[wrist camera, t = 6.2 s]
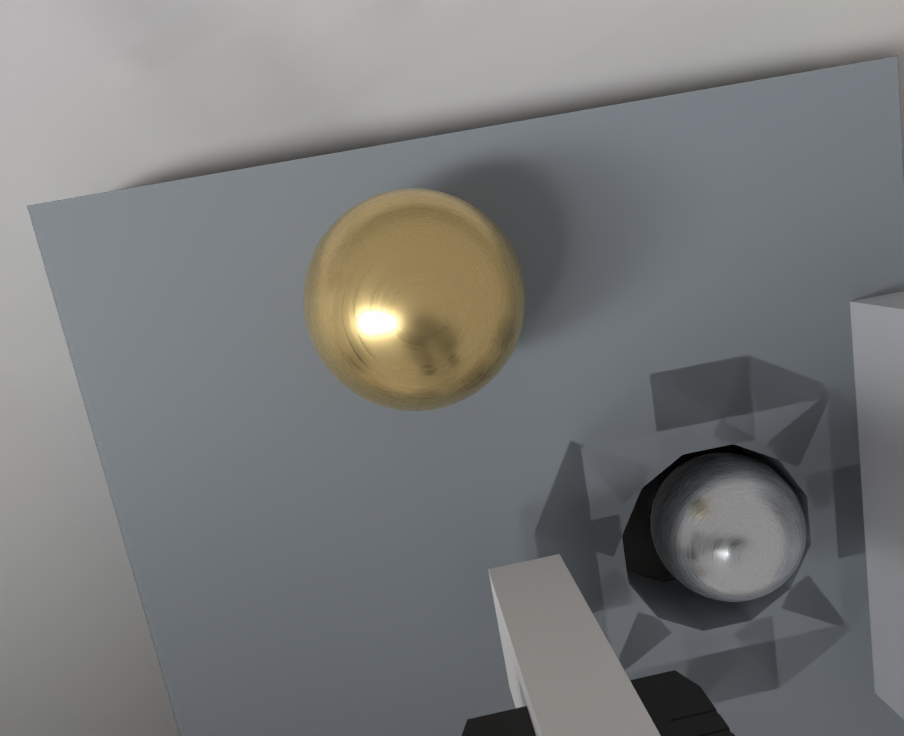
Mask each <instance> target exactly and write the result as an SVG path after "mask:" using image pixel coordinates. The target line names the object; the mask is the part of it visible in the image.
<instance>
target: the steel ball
mask: <svg viewBox="0 0 904 736" xmlns="http://www.w3.org/2000/svg"><path fill="white" fill-rule="evenodd" d="M650 527H651V535H652V540H653V543H654V546H655V549H656V552H657V553H658V555H659V557H660V559H661V561H662V562H663V564H664V565H665V567H666V568H667V570H668V571H669V572H670V573H671V574H672V575H673V576H674V577H675V578H676V579H677V580H678V581H679V582H680V583H682V584H683V585H684V586H686V587H687V588H689V589H690V590H692V591H694V592H696V593H698V594H700V595H702V596H704V597H708V598H711V599H715V600H720V601H726V602H743V601H749V600H753V599H757V598H760V597H762V596H765V595H767V594H769V593H771V592H773V591H774V590H776V589H777V588H779V587H780V586H781V585H783V584H784V583H785V582H786V581H787V580H788V579H789V578H790V577H791V575H792V574H793V573H794V571H795V570H796V568H797V567H798V565H799V563H800V560H801V558H802V555H803V552H804V548H805V543H806V524H805V517H804V513H803V510H802V507H801V505H800V502H799V500H798V498H797V496H796V494H795V493H794V491H793V490H792V488H791V487H790V486H789V484H788V483H787V482H786V481H785V480H784V479H783V478H782V477H781V476H780V475H779V474H778V473H777V472H775V471H774V470H773V469H772V468H770V467H768V466H767V465H765V464H764V463H762V462H760V461H758V460H755V459H753V458H750V457H747V456H744V455H740V454H734V453H710V454H705V455H701V456H698V457H695V458H692V459H690V460H688V461H686V462H684V463H683V464H681V465H680V466H678V467H677V468H676V469H674V470H673V471H672V472H671V473H670V474H669V475H668V476H667V477H666V478H665V480H664V481H663V482H662V484H661V485H660V487H659V489H658V491H657V493H656V495H655V498H654V501H653V504H652V508H651V516H650Z"/></svg>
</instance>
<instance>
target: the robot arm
mask: <svg viewBox="0 0 904 736" xmlns="http://www.w3.org/2000/svg"><path fill="white" fill-rule="evenodd" d="M488 572H489V577H490V583H491V588H492V594H493V599H494V605H495V610H496V616H497V621H498V627H499V632H500V638H501V643H502V649H503V654H504V660H505V665H506V671H507V677H508V682H509V687H510V691H511V694H512V698H513V701H514V705H515V709H511V710H506V711H502V712H498V713H493V714H489V715H484V716H480V717H475V718H471V719H467V722H466V725H465V727H464V730H463V733H462V736H735V735H734V734H733V733H731V731H730V728H729V727H728V725H727V724H726V722H725V721H724V719H723V718H722V717H721V715H720V714H718V713H717V710H716V708H715V707H714V705H713V704H712V702H711V701H710V700H709V698H708V697H707V695H706V694H705V692H704V691H703V690H702V688H701V687H700V686H699V685H697V684H696V683H694V682H692V681H691V680H689V679H688V678H686V677H685V676H683V675H682V674H680V673H679V672H677V671H675V670H673V671H669V672H664V673H660V674H655V675H651V676H646V677H642V678H638V679H633V680H629V678H628V676H627V674H626V672H625V671H624V669H623V667H622V665H621V664H620V662H619V660H618V658H617V656H616V655H615V653H614V651H613V649H612V647H611V646H610V644H609V642H608V640H607V638H606V637H605V635H604V633H603V631H602V629H601V628H600V626H599V624H598V622H597V620H596V619H595V617H594V615H593V613H592V612H591V610H590V608H589V606H588V604H587V603H586V601H585V599H584V597H583V595H582V594H581V592H580V590H579V588H578V586H577V585H576V583H575V581H574V579H573V577H572V576H571V574H570V572H569V570H568V568H567V567H566V565H565V563H564V561H563V560H562V558H561V556H560V554H557V555H552V556H548V557H543V558H538V559H534V560H529V561H524V562H520V563H515V564H510V565H506V566H501V567H496V568H491V569H488Z"/></svg>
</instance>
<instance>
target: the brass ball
mask: <svg viewBox="0 0 904 736" xmlns="http://www.w3.org/2000/svg"><path fill="white" fill-rule="evenodd" d="M525 300H526V297H525V286H524V279H523V275H522V270H521V267H520V264H519V261H518V258H517V256H516V253H515V252H514V250H513V248H512V246H511V244H510V242H509V240H508V239H507V238H506V236H505V235H504V233H503V232H502V230H501V229H500V228H499V227H498V226H497V225H496V224H495V223H494V222H493V221H492V219H490V218H489V217H488V216H487V215H486V214H485V213H483V212H482V211H481V210H480V209H478V208H477V207H475V206H473V205H472V204H470V203H469V202H467V201H465V200H463V199H460V198H458V197H456V196H454V195H451V194H447V193H444V192H441V191H436V190H430V189H421V188H406V189H397V190H391V191H387V192H383V193H380V194H377V195H375V196H372V197H369V198H367V199H365V200H363V201H361V202H360V203H358V204H356V205H354V206H353V207H351V208H350V209H349V210H347V211H346V212H345V213H343V214H342V215H341V216H340V217H339V218H338V219H337V220H336V221H335V222H334V223H333V224H332V225H331V226H330V227H329V229H328V230H327V231H326V233H325V234H324V235H323V236H322V238H321V240H320V241H319V243H318V245H317V247H316V248H315V250H314V253H313V255H312V258H311V260H310V263H309V265H308V269H307V273H306V277H305V283H304V291H303V309H304V316H305V322H306V326H307V330H308V333H309V337H310V339H311V341H312V344H313V346H314V348H315V351H316V352H317V354H318V356H319V357H320V359H321V360H322V362H323V364H324V365H325V366H326V367H327V369H328V370H329V371H330V372H331V374H332V375H333V376H334V377H335V378H336V379H337V380H338V381H339V382H341V383H342V384H343V385H344V386H345V387H347V388H348V389H349V390H351V391H352V392H353V393H355V394H356V395H358V396H360V397H362V398H364V399H365V400H367V401H370V402H372V403H375V404H377V405H380V406H383V407H387V408H391V409H395V410H403V411H427V410H435V409H439V408H443V407H447V406H450V405H453V404H455V403H458V402H460V401H463V400H465V399H466V398H468V397H470V396H472V395H474V394H475V393H477V392H478V391H479V390H481V389H482V388H483V387H485V386H486V385H487V384H488V383H489V382H490V381H491V380H492V379H493V378H494V377H496V376H497V374H498V373H499V372H500V371H501V369H502V368H503V367H504V366H505V364H506V363H507V361H508V359H509V358H510V356H511V355H512V353H513V351H514V349H515V346H516V344H517V342H518V340H519V337H520V333H521V330H522V327H523V321H524V315H525Z"/></svg>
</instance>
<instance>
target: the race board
mask: <svg viewBox="0 0 904 736" xmlns="http://www.w3.org/2000/svg"><path fill="white" fill-rule="evenodd" d="M406 188H421V189H430V190H436V191H441V192H444V193H447V194H451V195H454V196H456V197H458V198H460V199H463V200H465V201H467V202H469V203H470V204H472V205H473V206H475V207H477V208H478V209H480V210H481V211H482V212H483V213H485V214H486V215H487V216H488V217H489V218H490V219H492V221H493V222H494V223H495V224H496V225H497V226H498V227H499V228H500V229H501V230H502V232H503V233H504V235H505V236H506V238H507V239H508V240H509V242H510V244H511V246H512V248H513V250H514V252H515V253H516V256H517V258H518V261H519V264H520V267H521V270H522V275H523V279H524V286H525V297H526V300H525V315H524V321H523V327H522V330H521V333H520V337H519V340H518V342H517V344H516V346H515V349H514V351H513V353H512V355H511V356H510V358H509V359H508V361H507V363H506V364H505V366H504V367H503V368H502V369H501V371H500V372H499V373H498V374H497V376H496V377H494V378H493V379H492V380H491V381H490V382H489V383H488V384H487V385H486V386H485V387H483V388H482V389H481V390H479V391H478V392H477V393H475V394H474V395H472V396H470V397H468V398H466V399H465V400H463V401H460V402H458V403H455V404H453V405H450V406H447V407H443V408H439V409H435V410H427V411H403V410H395V409H391V408H387V407H383V406H380V405H377V404H375V403H372V402H370V401H367V400H365V399H364V398H362V397H360V396H358V395H356V394H355V393H353V392H352V391H351V390H349V389H348V388H347V387H345V386H344V385H343V384H342V383H341V382H339V381H338V380H337V379H336V378H335V377H334V376H333V375H332V374H331V372H330V371H329V370H328V369H327V367H326V366H325V365H324V364H323V362H322V360H321V359H320V357H319V356H318V354H317V352H316V351H315V348H314V346H313V344H312V341H311V339H310V337H309V333H308V330H307V326H306V322H305V316H304V309H303V291H304V283H305V277H306V273H307V269H308V265H309V263H310V260H311V258H312V255H313V253H314V250H315V248H316V247H317V245H318V243H319V241H320V240H321V238H322V236H323V235H324V234H325V233H326V231H327V230H328V229H329V227H330V226H331V225H332V224H333V223H334V222H335V221H336V220H337V219H338V218H339V217H340V216H341V215H342V214H343V213H345V212H346V211H347V210H349V209H350V208H351V207H353V206H354V205H356V204H358V203H360V202H361V201H363V200H365V199H367V198H369V197H372V196H375V195H377V194H380V193H383V192H387V191H391V190H397V189H406ZM27 207H28V211H29V214H30V218H31V221H32V225H33V228H34V232H35V235H36V238H37V242H38V245H39V249H40V252H41V256H42V259H43V263H44V266H45V270H46V273H47V276H48V280H49V283H50V287H51V290H52V294H53V297H54V301H55V304H56V308H57V311H58V314H59V318H60V321H61V325H62V328H63V332H64V335H65V339H66V342H67V346H68V349H69V353H70V356H71V359H72V363H73V366H74V370H75V373H76V377H77V380H78V384H79V387H80V391H81V394H82V397H83V401H84V404H85V408H86V411H87V415H88V418H89V422H90V425H91V429H92V432H93V435H94V439H95V442H96V446H97V449H98V453H99V456H100V460H101V463H102V467H103V470H104V473H105V477H106V480H107V484H108V487H109V491H110V494H111V498H112V501H113V505H114V508H115V511H116V515H117V518H118V522H119V525H120V529H121V532H122V536H123V539H124V543H125V546H126V550H127V553H128V556H129V560H130V563H131V567H132V570H133V574H134V577H135V581H136V584H137V588H138V591H139V594H140V598H141V601H142V605H143V608H144V612H145V615H146V619H147V622H148V626H149V629H150V632H151V636H152V639H153V643H154V646H155V650H156V653H157V657H158V660H159V664H160V667H161V670H162V674H163V677H164V681H165V684H166V688H167V691H168V695H169V698H170V702H171V705H172V708H173V712H174V715H175V719H176V722H177V726H178V729H179V733H180V736H462V733H463V730H464V727H465V725H466V722H467V719H471V718H475V717H480V716H484V715H489V714H493V713H498V712H502V711H506V710H511V709H515V705H514V701H513V698H512V694H511V691H510V687H509V682H508V677H507V671H506V665H505V660H504V654H503V649H502V643H501V638H500V632H499V627H498V621H497V616H496V610H495V605H494V599H493V594H492V588H491V583H490V577H489V572H488V569H491V568H496V567H501V566H506V565H510V564H515V563H520V562H524V561H529V560H534V559H538V558H543V557H548V556H552V555H557V554H560V556H561V558H562V560H563V561H564V563H565V565H566V567H567V568H568V570H569V572H570V574H571V576H572V577H573V579H574V581H575V583H576V585H577V586H578V588H579V590H580V592H581V594H582V595H583V597H584V599H585V601H586V603H587V604H588V606H589V608H590V610H591V612H592V613H593V615H594V617H595V619H596V620H597V622H598V624H599V626H600V628H601V629H602V631H603V633H604V635H605V637H606V638H607V640H608V642H609V644H610V646H611V647H612V649H613V651H614V653H615V655H616V656H617V658H618V660H619V662H620V664H621V665H622V667H623V669H624V671H625V672H626V674H627V676H628V678H629V680H633V679H638V678H642V677H646V676H651V675H655V674H660V673H664V672H669V671H673V670H675V671H677V672H679V673H680V674H682V675H683V676H685V677H686V678H688V679H689V680H691V681H692V682H694V683H696V684H697V685H699V686H700V687H701V688H702V690H703V691H704V692H705V694H706V695H707V697H708V698H709V700H710V701H711V702H712V704H713V705H714V707H715V708H716V710H717V713H718V714H720V715H721V717H722V718H723V719H724V721H725V722H726V724H727V725H728V727H729V728H730V731H731V733H733V734H734V735H735V736H904V178H903V157H902V136H901V114H900V93H899V71H898V56H894V57H888V58H882V59H877V60H871V61H865V62H859V63H853V64H848V65H842V66H836V67H830V68H824V69H819V70H813V71H807V72H801V73H795V74H790V75H784V76H778V77H772V78H766V79H760V80H755V81H749V82H743V83H737V84H731V85H726V86H720V87H714V88H708V89H702V90H697V91H691V92H685V93H679V94H673V95H668V96H662V97H656V98H650V99H644V100H639V101H633V102H627V103H621V104H615V105H610V106H604V107H598V108H592V109H586V110H581V111H575V112H569V113H563V114H557V115H551V116H546V117H540V118H534V119H528V120H522V121H517V122H511V123H505V124H499V125H493V126H488V127H482V128H476V129H470V130H464V131H459V132H453V133H447V134H441V135H435V136H430V137H424V138H418V139H412V140H406V141H401V142H395V143H389V144H383V145H377V146H371V147H366V148H360V149H354V150H348V151H342V152H337V153H331V154H325V155H319V156H313V157H308V158H302V159H296V160H290V161H284V162H279V163H273V164H267V165H261V166H255V167H250V168H244V169H238V170H232V171H226V172H221V173H215V174H209V175H203V176H197V177H192V178H186V179H180V180H174V181H168V182H162V183H157V184H151V185H145V186H139V187H133V188H128V189H122V190H116V191H110V192H104V193H99V194H93V195H87V196H81V197H75V198H70V199H64V200H58V201H52V202H46V203H41V204H35V205H29V206H27ZM732 444H735V445H738V446H740V447H741V448H742V449H743V451H744V452H745V453H746V455H747V456H748V457H750V458H753V459H755V460H758V461H760V462H762V463H764V464H765V465H767V466H768V467H770V468H772V469H773V470H774V471H775V472H777V473H778V474H779V475H780V476H781V477H782V478H783V479H784V480H785V481H786V482H787V483H788V484H789V486H790V487H791V488H792V490H793V491H794V493H795V494H796V496H797V498H798V500H799V502H800V505H801V507H802V510H803V513H804V517H805V524H806V543H805V548H804V552H803V555H802V558H801V560H800V563H799V565H798V567H797V568H796V570H795V571H794V573H793V574H792V575H791V577H790V578H789V579H788V580H787V581H786V582H785V583H784V584H783V585H781V586H780V587H779V588H777V589H776V590H774V591H773V592H771V593H769V594H767V595H765V596H762V597H760V598H757V599H753V600H749V601H743V602H726V601H720V600H715V599H711V598H708V597H704V596H702V595H700V594H698V593H696V592H694V591H692V590H690V589H689V588H687V587H686V586H684V585H683V584H682V583H680V582H679V581H678V580H677V579H673V580H668V581H659V580H656V579H653V578H649V577H646V576H643V575H640V574H636V573H633V572H630V571H627V569H626V562H625V554H624V547H623V540H622V535H623V532H624V530H625V528H626V525H627V523H628V520H629V518H630V516H631V513H632V511H633V508H634V506H635V503H636V501H637V499H638V496H639V494H640V491H641V489H642V488H643V487H644V486H645V485H647V484H648V483H649V482H650V481H651V480H653V479H654V478H655V477H656V476H657V475H659V474H660V473H661V472H662V471H664V470H665V469H666V468H667V467H668V466H670V465H671V464H672V463H673V462H674V461H676V460H677V459H678V458H679V457H680V456H682V455H683V454H688V453H693V452H698V451H703V450H707V449H712V448H717V447H722V446H727V445H732Z"/></svg>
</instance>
